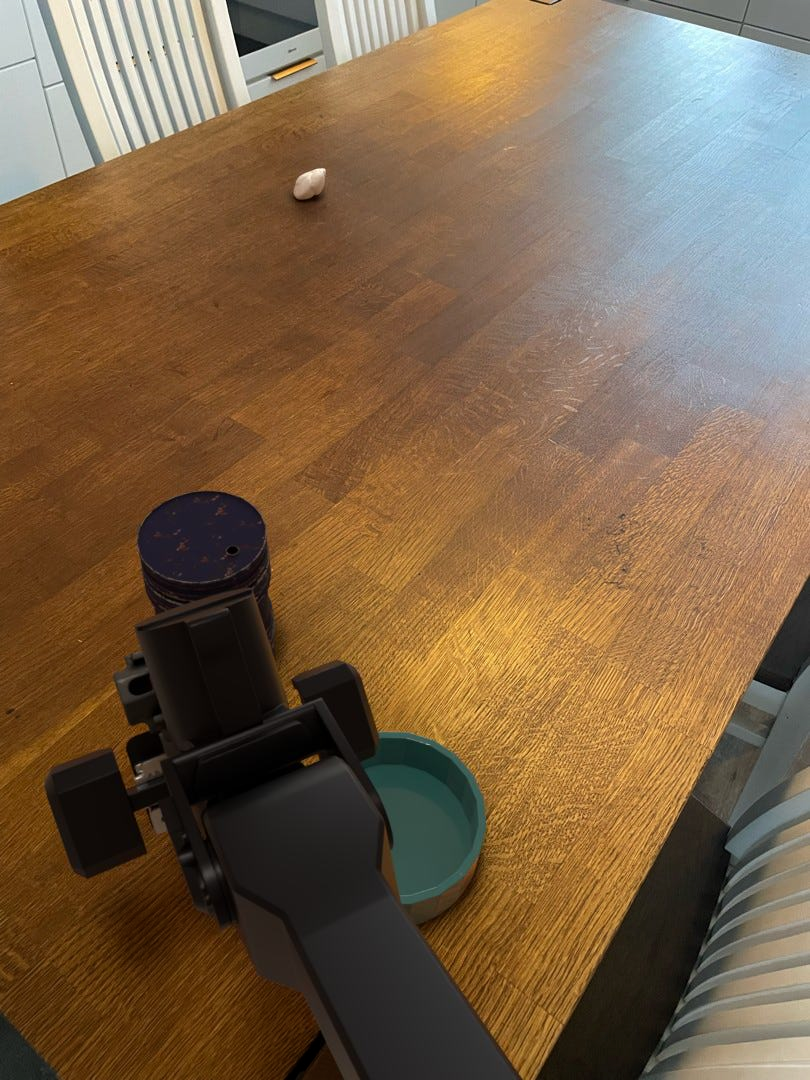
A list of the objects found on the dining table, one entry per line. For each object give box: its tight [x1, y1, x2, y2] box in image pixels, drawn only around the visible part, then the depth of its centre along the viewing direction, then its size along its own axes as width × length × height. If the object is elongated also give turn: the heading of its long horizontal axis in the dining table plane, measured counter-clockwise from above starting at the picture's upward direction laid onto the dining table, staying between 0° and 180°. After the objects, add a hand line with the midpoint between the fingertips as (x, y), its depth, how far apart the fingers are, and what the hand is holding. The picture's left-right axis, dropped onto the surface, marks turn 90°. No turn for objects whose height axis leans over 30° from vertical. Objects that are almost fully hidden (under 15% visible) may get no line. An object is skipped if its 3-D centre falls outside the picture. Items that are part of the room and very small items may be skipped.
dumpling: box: [293, 168, 327, 200], centre depth 137 cm, size 7×5×4 cm
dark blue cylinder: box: [136, 489, 276, 657], centre depth 73 cm, size 10×10×15 cm
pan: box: [360, 731, 487, 926], centre depth 66 cm, size 13×13×4 cm
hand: (199, 735), depth 60 cm, fingers closed on fennel bulb, 2 cm apart
